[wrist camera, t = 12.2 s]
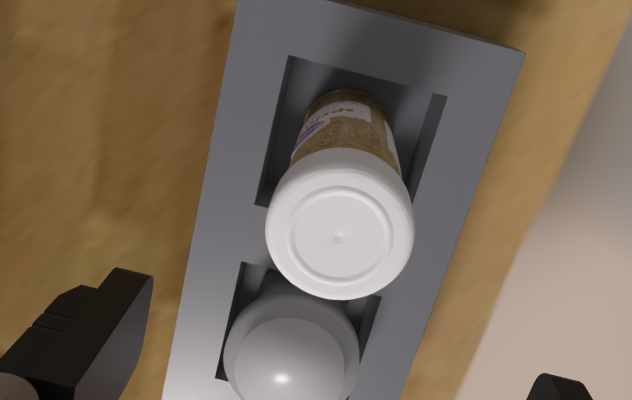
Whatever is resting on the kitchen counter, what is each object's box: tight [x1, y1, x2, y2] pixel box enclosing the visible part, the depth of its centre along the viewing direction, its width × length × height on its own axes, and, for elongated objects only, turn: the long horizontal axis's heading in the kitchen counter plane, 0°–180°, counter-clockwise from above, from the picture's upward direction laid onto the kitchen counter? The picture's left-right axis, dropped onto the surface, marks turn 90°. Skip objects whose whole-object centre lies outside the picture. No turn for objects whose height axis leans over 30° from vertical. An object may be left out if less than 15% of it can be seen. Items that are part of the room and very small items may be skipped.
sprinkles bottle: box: [265, 88, 415, 300], centre depth 24 cm, size 5×5×14 cm
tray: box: [162, 0, 526, 400], centre depth 29 cm, size 12×22×8 cm, turn 166°
